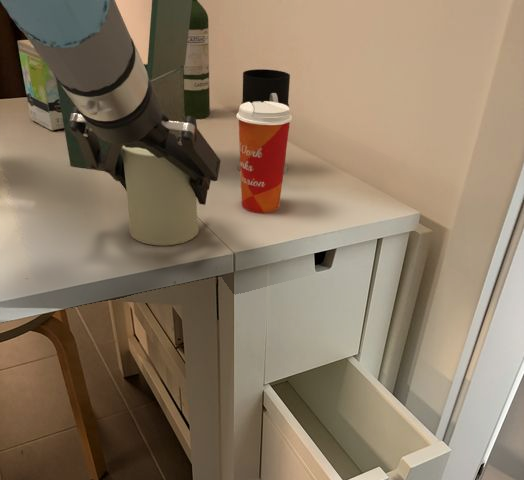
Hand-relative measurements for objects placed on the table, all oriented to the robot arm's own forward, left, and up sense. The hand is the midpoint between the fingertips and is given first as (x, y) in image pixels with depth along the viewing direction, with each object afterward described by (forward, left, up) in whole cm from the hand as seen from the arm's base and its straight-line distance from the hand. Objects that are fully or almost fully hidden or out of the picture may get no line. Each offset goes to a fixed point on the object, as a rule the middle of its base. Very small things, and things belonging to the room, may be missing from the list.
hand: (169, 191), depth 75 cm
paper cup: (+10, +10, -4) cm, 15 cm away
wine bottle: (-18, +55, -4) cm, 58 cm away
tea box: (-38, +40, -4) cm, 55 cm away
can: (0, -3, -4) cm, 5 cm away
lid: (-8, +22, +19) cm, 30 cm away
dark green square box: (-17, +22, -4) cm, 28 cm away
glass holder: (+7, +24, -4) cm, 25 cm away
